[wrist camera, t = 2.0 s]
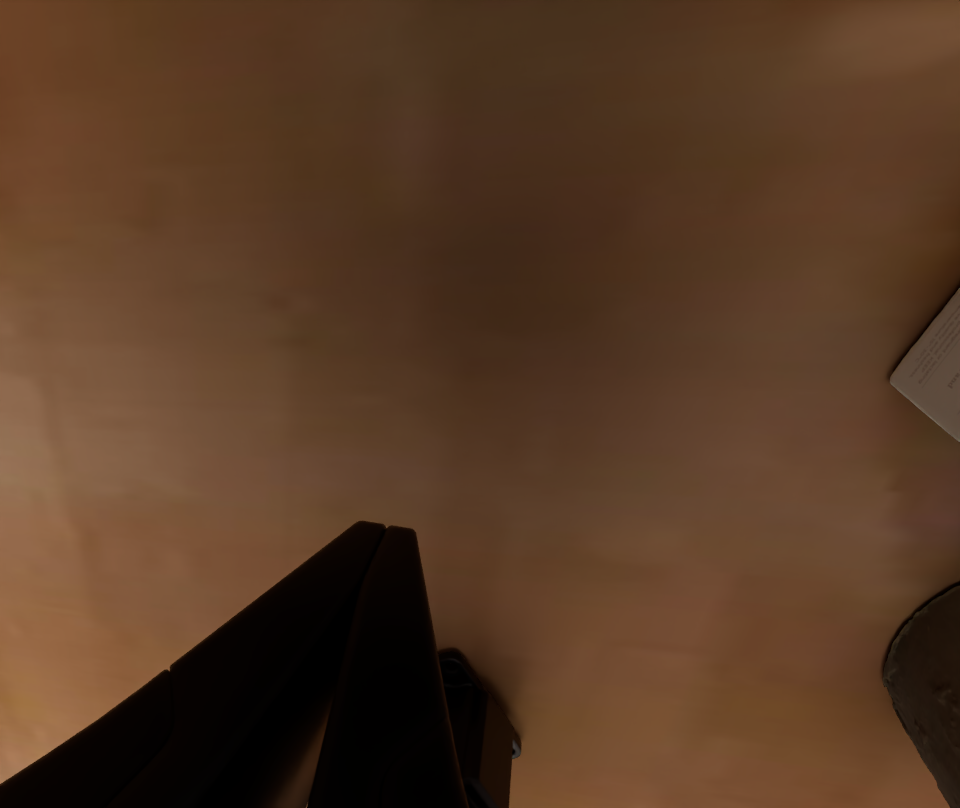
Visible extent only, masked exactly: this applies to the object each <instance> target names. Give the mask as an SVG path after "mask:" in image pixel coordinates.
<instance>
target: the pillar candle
mask: <svg viewBox="0 0 960 808" xmlns="http://www.w3.org/2000/svg"><path fill="white" fill-rule="evenodd" d="M891 647H892V648H891V651H890V653H889V654H888V659H887V662H886V663H885V666H884V673H883V676H884V677H883V685H884V687H887V689H888V692H889V695H891V697H892V700H893V708H894V709H895V712H896V714H897V716H898V718H899V719H900V721H901V723H902V725H903V728H904V729H905V731H906V733H907V734H908V735H909V737H910V739H911V740H912V741H913V743H914V745H915V746H916V749H917V751H918V752H919V754H920V756H921V758H922V760H923V761H924V763H925V764H926V766H927V768H928V769H929V771H930V772H931V773H932V775H933V776H934V778H935V779H936V781H937V786H938V788H939V790H940V791H941V793H942V794H943V796H944V798H945V800H946V801H947V803H948V804H949V806H950V808H960V585H959V586H957V587H955V588H953V589H951V590H949V591H948V592H946V593H945V594H944V595H942V596H939V597H937V598H936V599H934V600H933V601H931V602H930V603H929V604H928V605H927V606H926V607H924V608H923V609H922V610H921V611H920V612H917V613H915V615H914V617H913V619H912V620H909V622H908V624H906V625H905V626H904V628H903V629H902V631H901V632H900V633H899V635H898V637H897V638H896V639H895V641H894V642H893V644H892V646H891Z"/></svg>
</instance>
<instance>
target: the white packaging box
mask: <svg viewBox="0 0 960 808" xmlns="http://www.w3.org/2000/svg"><path fill="white" fill-rule="evenodd" d="M890 383H891V385H892V386H893V387H895V388H896V389H897V390H898V391H899V392H900V393H901V394H903V395H904V396H905V397H906V398H907V399H908V400H910V401H911V402H912V403H913V404H914V405H915V406H917V407H918V408H919V409H920V410H921V411H922V412H924V413H925V414H926V415H927V416H928V417H930V418H931V419H932V420H933V421H934V422H935V423H937V424H938V425H939V426H940V427H942V428H943V429H944V430H945V431H946V432H947V433H949V434H950V435H951V436H952V437H954V438H955V439H956V440H957V441H959V442H960V288H959V289H958V291H957V292H956V293H955V294H954V296H953V297H952V298H951V299H950V301H949V302H948V303H947V305H946V306H945V307H944V309H943V310H942V311H941V312H940V313H939V315H938V316H937V317H936V318H935V319H934V320H933V322H932V323H931V324H930V326H929V327H928V328H927V329H926V331H925V332H924V333H923V335H922V336H921V337H920V338H919V340H918V341H917V342H916V343H915V344H914V345H913V347H912V348H911V349H910V350H909V352H908V353H907V355H906V356H905V357H904V358H903V360H902V361H901V362H900V364H899V365H898V367H897V368H896V369H895V371H894V372H893V374H892V375H891V377H890Z"/></svg>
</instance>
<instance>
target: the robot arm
mask: <svg viewBox="0 0 960 808" xmlns="http://www.w3.org/2000/svg"><path fill="white" fill-rule="evenodd" d="M450 663H452V664H450ZM520 754H521V741H520V739H519V738H518V736H517V735H516V734H515V732H514V728H513V726H512V725H511V723H510V722H509V720H508V719H507V717H506V716H505V714H504V713H503V711H502V710H501V709H500V707H499V706H498V704H497V703H496V701H495V700H494V698H493V697H492V695H491V694H490V693H489V692H488V691H487V690H486V689H485V688H484V687H483V685H482V684H481V682H480V681H479V679H478V678H477V677H476V675H475V674H474V672H473V671H472V669H471V668H470V666H469V665H468V663H467V662H466V660H465V659H464V657H463V656H462V655H461V654H459V653H457V652H452V651H451V652H445V653H442V654H439V655H438V652H437V646H436V641H435V635H434V630H433V624H432V619H431V613H430V608H429V602H428V597H427V591H426V586H425V580H424V574H423V569H422V563H421V558H420V552H419V547H418V541H417V536H416V532H415V530H413V529H411V528H405V527H399V526H393V525H392V526H389V527H387V528H386V526H385V525H384V524H381V523H374V522H368V521H358V522H356V523H355V524H354V525H352V526H351V527H350V528H348V529H347V530H346V531H344V532H343V533H342V534H341V535H339V536H338V537H337V538H335V539H334V540H333V541H331V542H330V543H329V544H328V545H326V546H325V547H324V548H322V549H321V550H320V551H318V552H317V553H316V554H315V555H313V556H312V557H311V558H309V559H308V560H307V561H305V562H304V563H303V564H302V565H300V566H299V567H298V568H296V569H295V570H294V571H292V572H291V573H290V574H289V575H287V576H286V577H285V578H283V579H282V580H281V581H279V582H278V583H277V584H276V585H274V586H273V587H272V588H270V589H269V590H268V591H267V592H265V593H264V594H263V595H261V596H260V597H259V598H257V599H256V600H255V601H254V602H252V603H251V604H250V605H248V606H247V607H246V608H244V609H243V610H242V611H241V612H239V613H238V614H237V615H235V616H234V617H233V618H231V619H230V620H229V621H228V622H226V623H225V624H224V625H222V626H221V627H220V628H218V629H217V630H216V631H215V632H213V633H212V634H211V635H209V636H208V637H207V638H205V639H204V640H203V641H202V642H200V643H199V644H198V645H196V646H195V647H194V648H192V649H191V650H190V651H189V652H187V653H186V654H185V655H183V656H182V657H181V658H179V659H178V660H177V661H176V662H174V663H173V664H172V665H171V666H170V671H169V670H164V671H162V672H161V673H160V674H158V675H157V676H156V677H154V678H153V679H152V680H151V681H149V682H148V683H147V684H145V685H144V686H143V687H141V688H140V689H139V690H137V691H136V692H135V693H133V694H132V695H131V696H129V697H128V698H127V699H125V700H124V701H122V702H121V703H120V704H118V705H117V706H116V707H114V708H113V709H112V710H110V711H109V712H107V713H106V714H105V715H103V716H102V717H101V718H99V719H98V720H97V721H95V722H94V723H92V724H91V725H89V726H88V727H86V728H85V729H83V730H82V731H80V732H79V733H77V734H76V735H74V736H73V737H71V738H70V739H68V740H67V741H65V742H64V743H63V744H61V745H60V746H58V747H57V748H55V749H54V750H52V751H51V752H49V753H48V754H46V755H45V756H43V757H42V758H40V759H38V760H37V761H35V762H34V763H32V764H31V765H29V766H28V767H26V768H25V769H23V770H21V771H20V772H18V773H17V774H15V775H14V776H12V777H11V778H9V779H8V780H6V781H4V782H3V783H1V784H0V808H306V806H307V808H509V795H510V780H511V765H512V759H514V758H517V757H519V756H520ZM307 804H308V805H307Z"/></svg>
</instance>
